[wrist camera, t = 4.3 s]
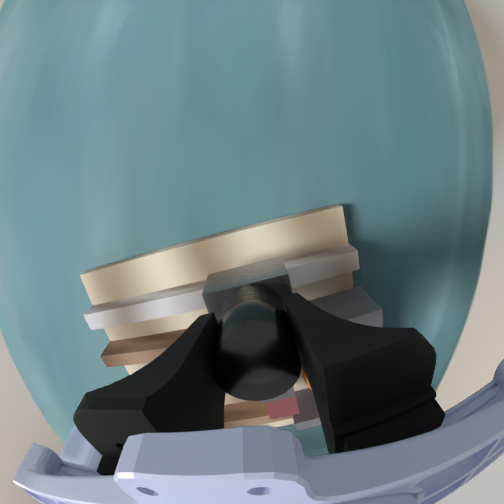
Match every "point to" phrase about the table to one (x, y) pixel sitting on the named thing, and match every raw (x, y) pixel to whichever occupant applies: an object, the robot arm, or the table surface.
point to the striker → (254, 335)
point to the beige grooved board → (193, 281)
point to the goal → (349, 308)
